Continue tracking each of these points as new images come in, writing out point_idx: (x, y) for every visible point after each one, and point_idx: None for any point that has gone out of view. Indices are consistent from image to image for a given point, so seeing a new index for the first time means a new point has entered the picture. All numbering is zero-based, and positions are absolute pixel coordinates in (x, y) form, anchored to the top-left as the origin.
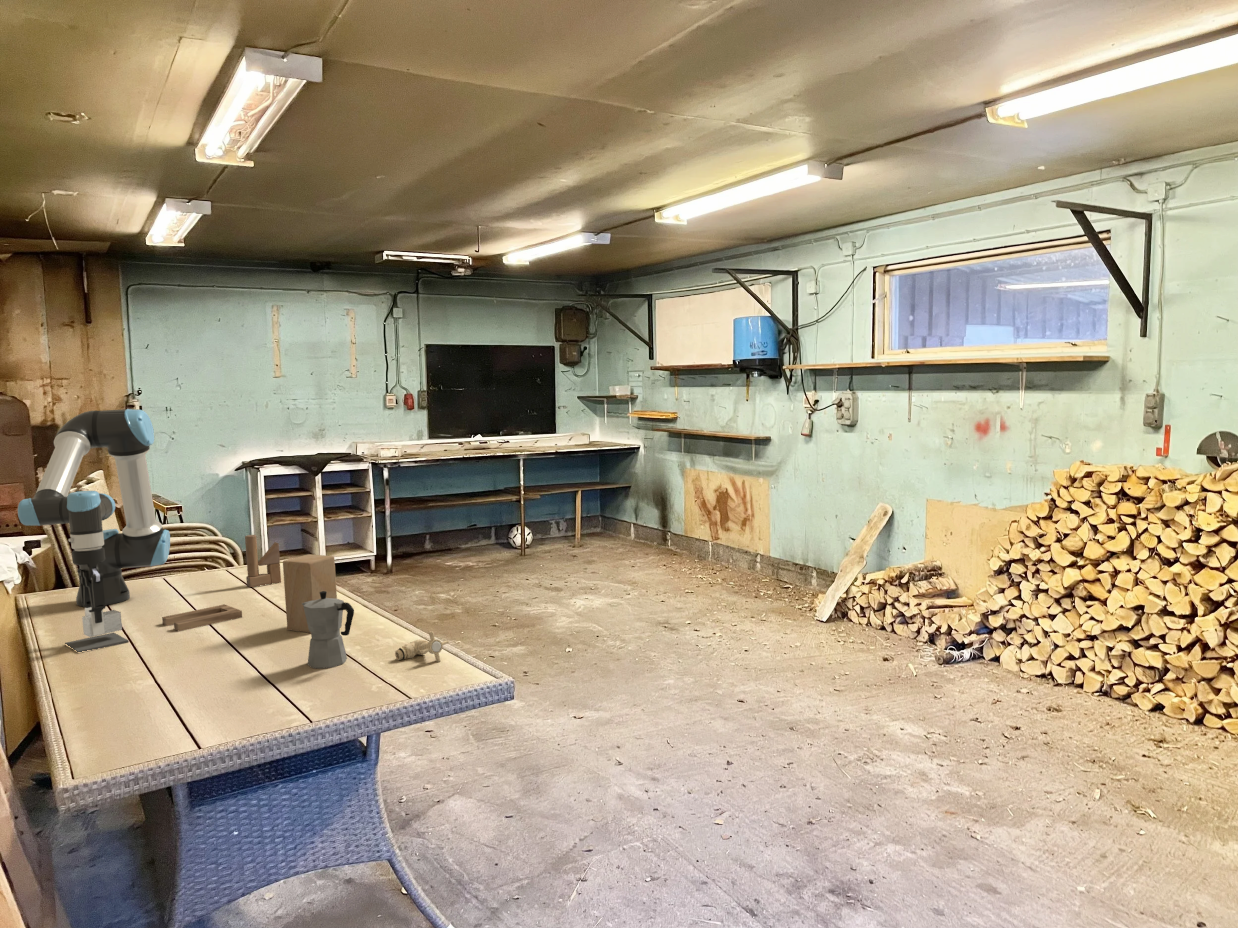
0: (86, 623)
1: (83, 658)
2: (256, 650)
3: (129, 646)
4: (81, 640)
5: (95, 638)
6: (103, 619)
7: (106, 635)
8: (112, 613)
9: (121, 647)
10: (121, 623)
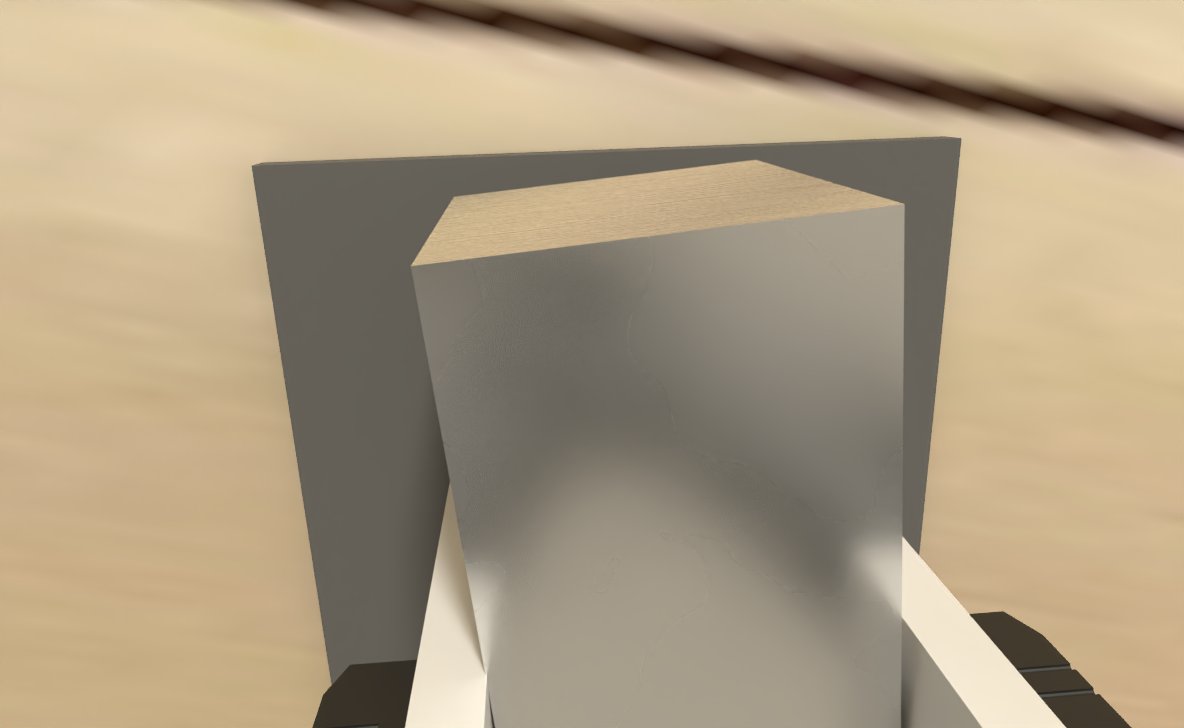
0: None
1: (1148, 682)
2: None
3: (1172, 190)
4: (392, 600)
5: (436, 452)
6: (949, 592)
7: (374, 299)
8: (856, 407)
9: (1116, 281)
10: (791, 173)
